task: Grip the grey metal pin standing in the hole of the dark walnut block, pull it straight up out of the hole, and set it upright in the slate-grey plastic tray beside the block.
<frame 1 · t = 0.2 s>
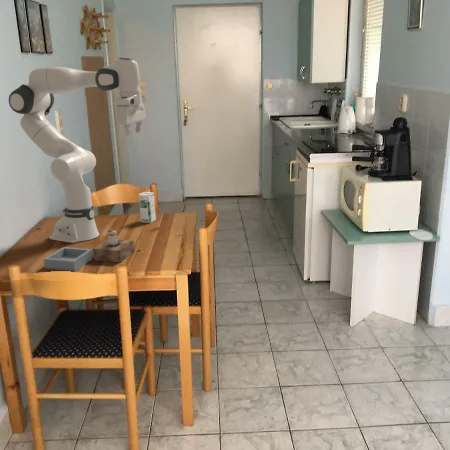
hand: (133, 133, 204), 47 cm above the table, tool pointing down, fingers open, 8 cm apart
metal pin: (113, 243, 200), in the walnut block
syrup box: (148, 221, 247), on the table
grey tray: (69, 263, 196), on the table
walnut block: (114, 256, 202), on the table
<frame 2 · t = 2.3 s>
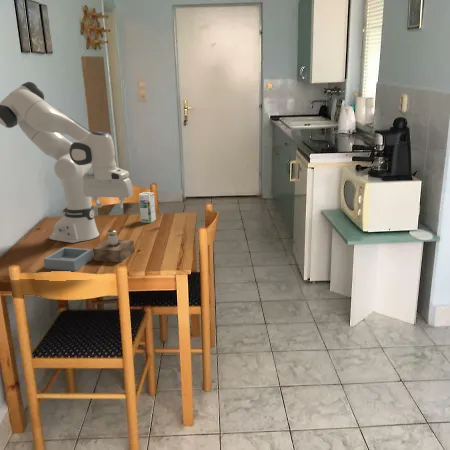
hand: (109, 207, 195), 21 cm above the table, tool pointing down, fingers open, 8 cm apart
nothing on the table moved.
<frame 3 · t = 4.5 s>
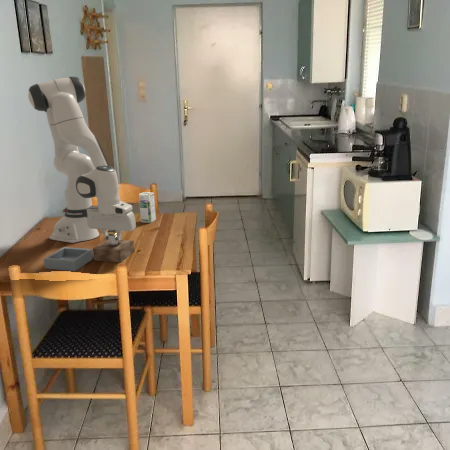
hand: (113, 239, 200), 7 cm above the table, tool pointing down, fingers closed on metal pin, 3 cm apart
metal pin: (113, 243, 200), in the walnut block, touching gripper
everything else where it was.
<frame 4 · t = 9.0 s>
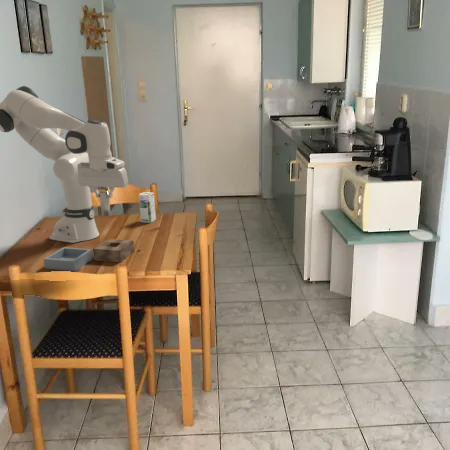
hand: (104, 197, 194), 25 cm above the table, tool pointing down, fingers closed on metal pin, 3 cm apart
metal pin: (104, 201, 194), point 23 cm above the table, touching gripper
everything else where it was.
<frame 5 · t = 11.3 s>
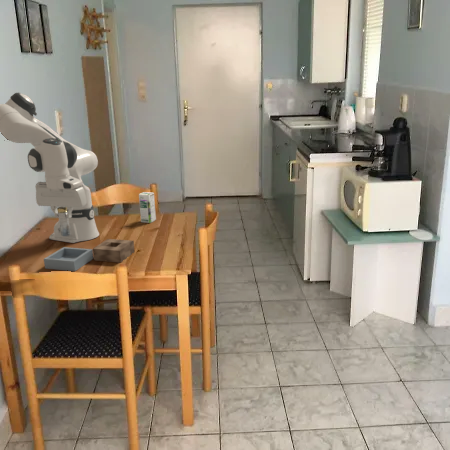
hand: (63, 217, 190), 19 cm above the table, tool pointing down, fingers closed on metal pin, 3 cm apart
metal pin: (63, 221, 190), point 18 cm above the table, touching gripper
everything else where it was.
when the fingers open (10 cm above the table, at t = 13.4 s): metal pin drops 1 cm, resting on grey tray.
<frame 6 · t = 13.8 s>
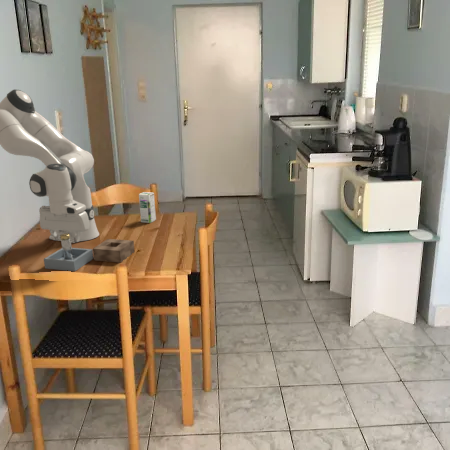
hand: (66, 240, 193), 10 cm above the table, tool pointing down, fingers open, 8 cm apart
metal pin: (67, 248, 193), in the grey tray, point 7 cm above the table
everything else where it was.
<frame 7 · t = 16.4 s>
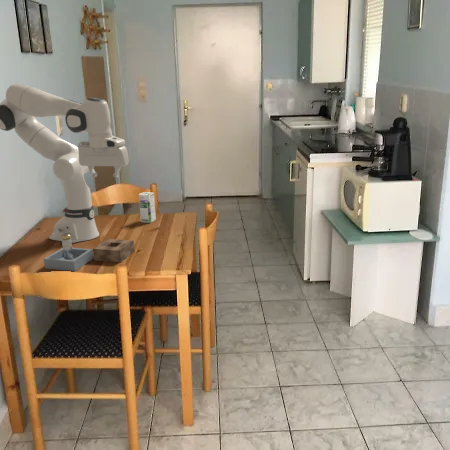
hand: (105, 177, 191), 33 cm above the table, tool pointing down, fingers open, 8 cm apart
nothing on the table moved.
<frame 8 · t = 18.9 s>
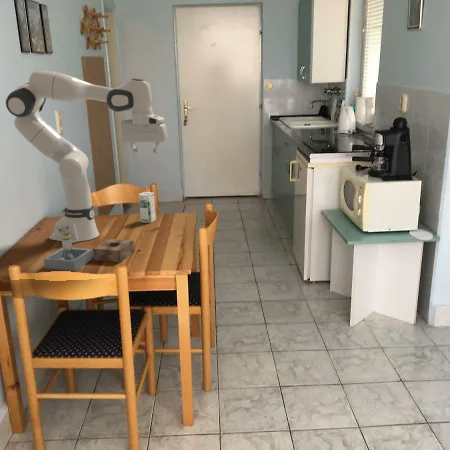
hand: (145, 152, 208), 39 cm above the table, tool pointing down, fingers open, 8 cm apart
nothing on the table moved.
at the end: metal pin inside the target area on the grey tray (0.0 cm from its centre), point 6.5 cm above the grey tray's base; metal pin tilted 0°; the gripper is holding nothing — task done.
